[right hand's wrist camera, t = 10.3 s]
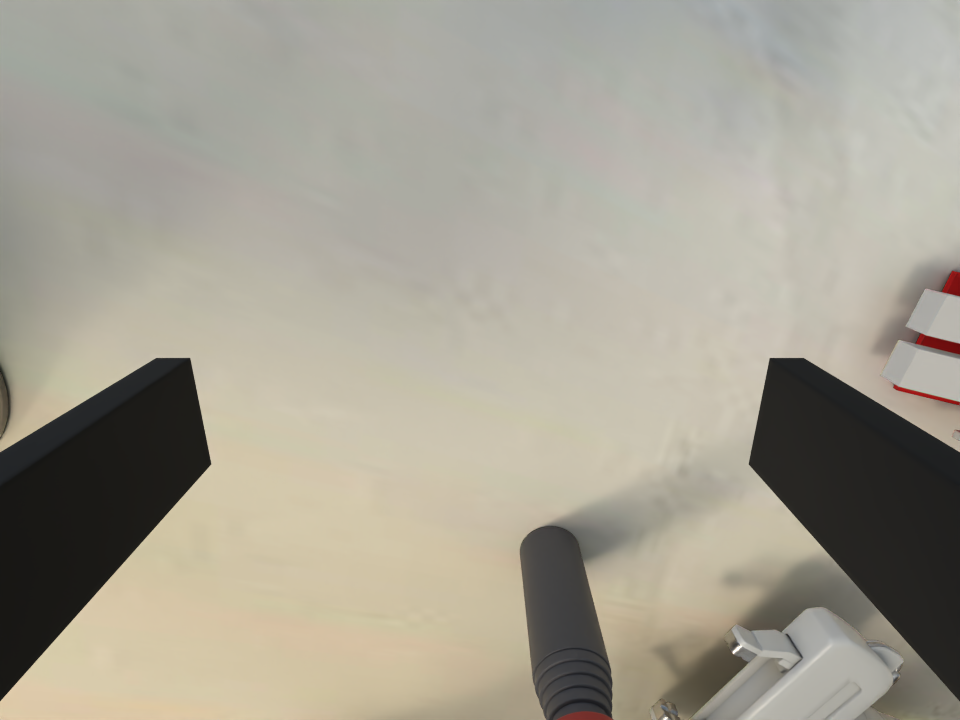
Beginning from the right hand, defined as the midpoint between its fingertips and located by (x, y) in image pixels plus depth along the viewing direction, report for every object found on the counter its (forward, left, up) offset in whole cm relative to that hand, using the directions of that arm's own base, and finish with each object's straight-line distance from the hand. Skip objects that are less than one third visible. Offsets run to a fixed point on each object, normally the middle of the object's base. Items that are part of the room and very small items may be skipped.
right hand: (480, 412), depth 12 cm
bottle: (-6, -26, -27) cm, 38 cm away
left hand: (0, -37, -20) cm, 42 cm away
